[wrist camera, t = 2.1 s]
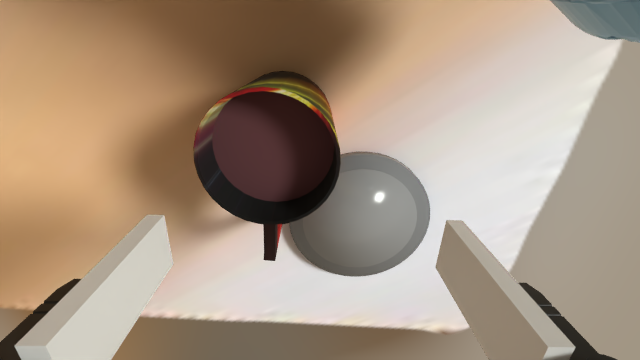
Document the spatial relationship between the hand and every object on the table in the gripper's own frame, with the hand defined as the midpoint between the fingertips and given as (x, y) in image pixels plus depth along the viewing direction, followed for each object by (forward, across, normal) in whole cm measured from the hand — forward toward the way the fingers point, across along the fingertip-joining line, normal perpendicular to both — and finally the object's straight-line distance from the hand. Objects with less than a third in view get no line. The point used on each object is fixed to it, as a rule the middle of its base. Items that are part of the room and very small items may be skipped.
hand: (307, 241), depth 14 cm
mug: (+19, -2, 0) cm, 19 cm away
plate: (+19, +6, -9) cm, 22 cm away
